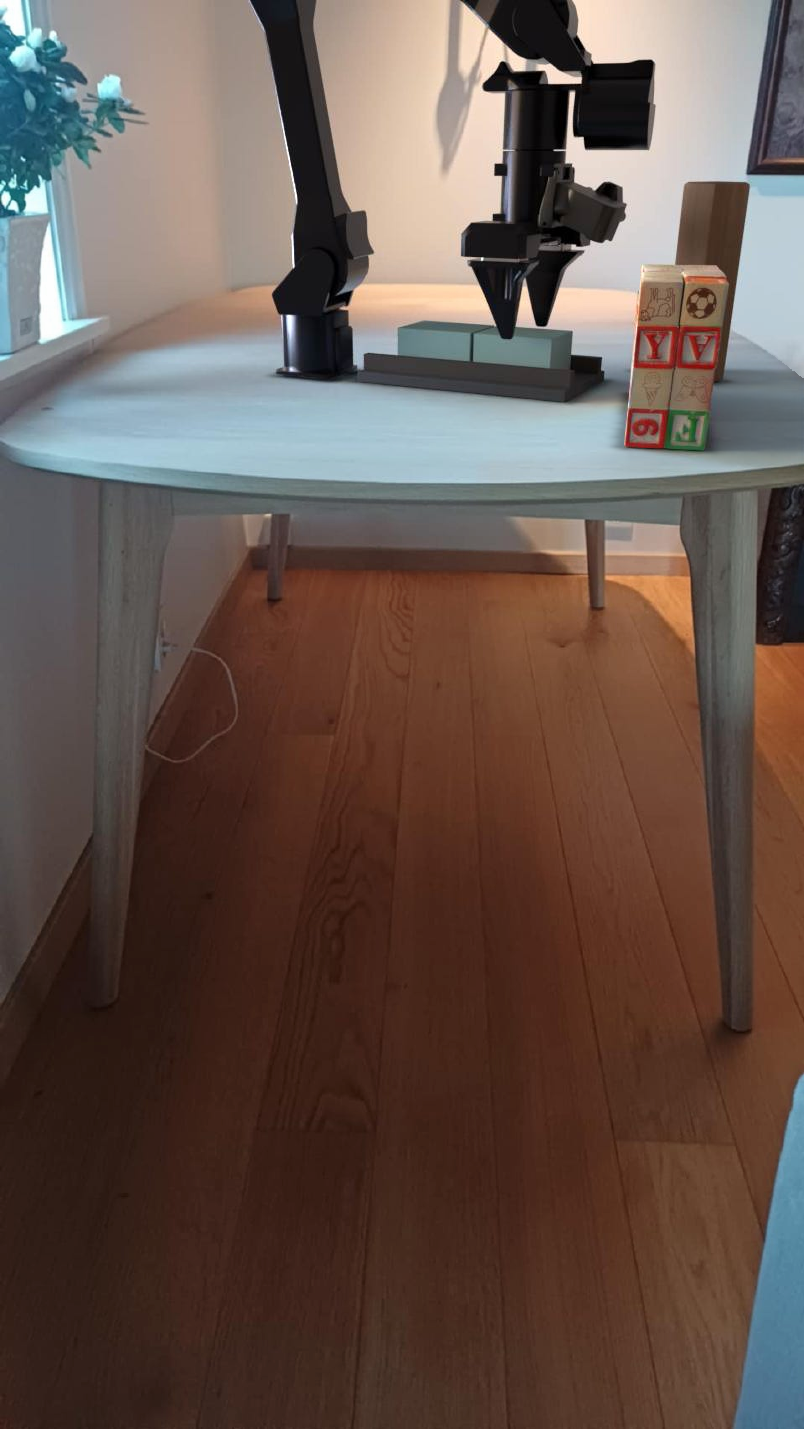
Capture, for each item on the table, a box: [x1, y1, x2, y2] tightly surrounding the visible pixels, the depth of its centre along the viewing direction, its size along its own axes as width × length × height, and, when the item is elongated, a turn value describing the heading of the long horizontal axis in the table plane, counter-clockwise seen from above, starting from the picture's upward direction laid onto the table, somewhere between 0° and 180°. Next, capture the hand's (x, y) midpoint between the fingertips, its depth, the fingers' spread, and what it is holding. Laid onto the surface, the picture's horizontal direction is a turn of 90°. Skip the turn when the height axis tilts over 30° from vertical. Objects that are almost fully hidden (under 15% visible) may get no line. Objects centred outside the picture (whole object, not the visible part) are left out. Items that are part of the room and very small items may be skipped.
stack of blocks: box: [623, 263, 729, 451], centre depth 88 cm, size 21×6×12 cm, turn 168°
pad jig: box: [357, 320, 606, 403], centre depth 105 cm, size 22×12×5 cm, turn 63°
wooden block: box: [674, 180, 751, 382], centre depth 104 cm, size 9×4×18 cm, turn 27°
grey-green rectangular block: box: [473, 325, 574, 370], centre depth 103 cm, size 8×6×4 cm
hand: (524, 332), depth 102 cm, fingers open, 9 cm apart
